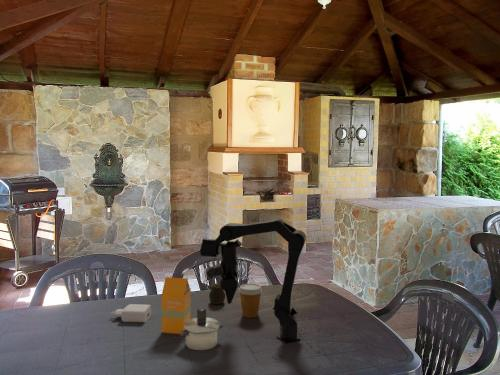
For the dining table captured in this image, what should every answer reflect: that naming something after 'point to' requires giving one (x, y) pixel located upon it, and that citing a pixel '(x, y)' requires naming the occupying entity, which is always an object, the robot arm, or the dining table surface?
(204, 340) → the pot
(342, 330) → the dining table surface
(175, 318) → the orange juice
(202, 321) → the lid
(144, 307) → the charger
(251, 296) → the disposable coffee cup
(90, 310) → the dining table surface
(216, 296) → the mate gourd
